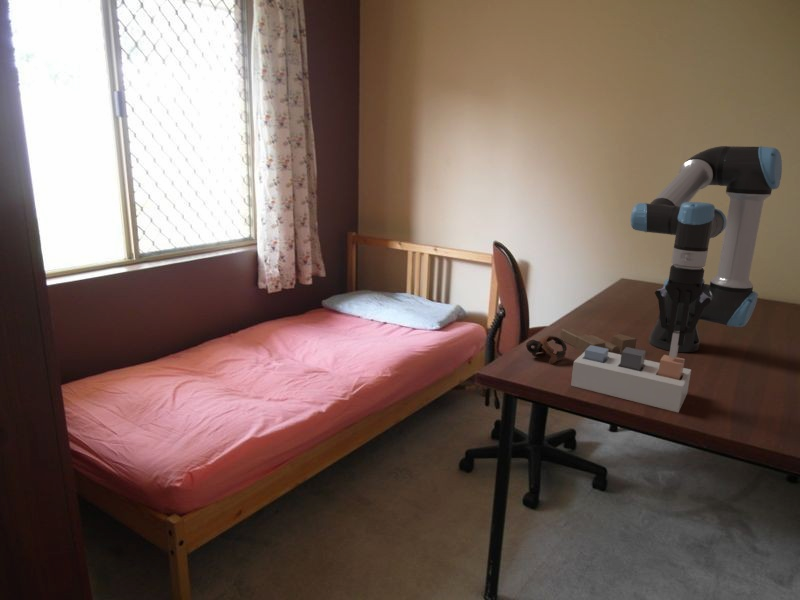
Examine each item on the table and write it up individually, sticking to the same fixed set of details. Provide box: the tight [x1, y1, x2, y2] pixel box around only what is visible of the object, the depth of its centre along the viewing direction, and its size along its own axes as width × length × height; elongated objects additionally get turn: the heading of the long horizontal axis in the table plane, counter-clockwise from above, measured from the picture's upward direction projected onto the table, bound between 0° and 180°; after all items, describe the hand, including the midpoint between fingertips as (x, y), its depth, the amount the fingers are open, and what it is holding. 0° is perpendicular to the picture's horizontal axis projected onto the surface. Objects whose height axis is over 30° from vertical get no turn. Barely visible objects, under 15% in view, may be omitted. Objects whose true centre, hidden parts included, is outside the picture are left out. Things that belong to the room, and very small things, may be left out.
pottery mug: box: [525, 335, 567, 365], centre depth 175 cm, size 12×10×8 cm
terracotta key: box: [658, 354, 686, 380], centre depth 147 cm, size 5×5×5 cm
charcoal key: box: [620, 347, 647, 371], centre depth 152 cm, size 5×5×5 cm
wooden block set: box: [560, 328, 637, 354], centre depth 188 cm, size 17×6×18 cm
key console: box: [570, 352, 692, 413], centre depth 153 cm, size 27×14×7 cm, turn 56°
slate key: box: [584, 345, 609, 363], centre depth 158 cm, size 5×5×5 cm
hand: (672, 356), depth 146 cm, fingers closed
